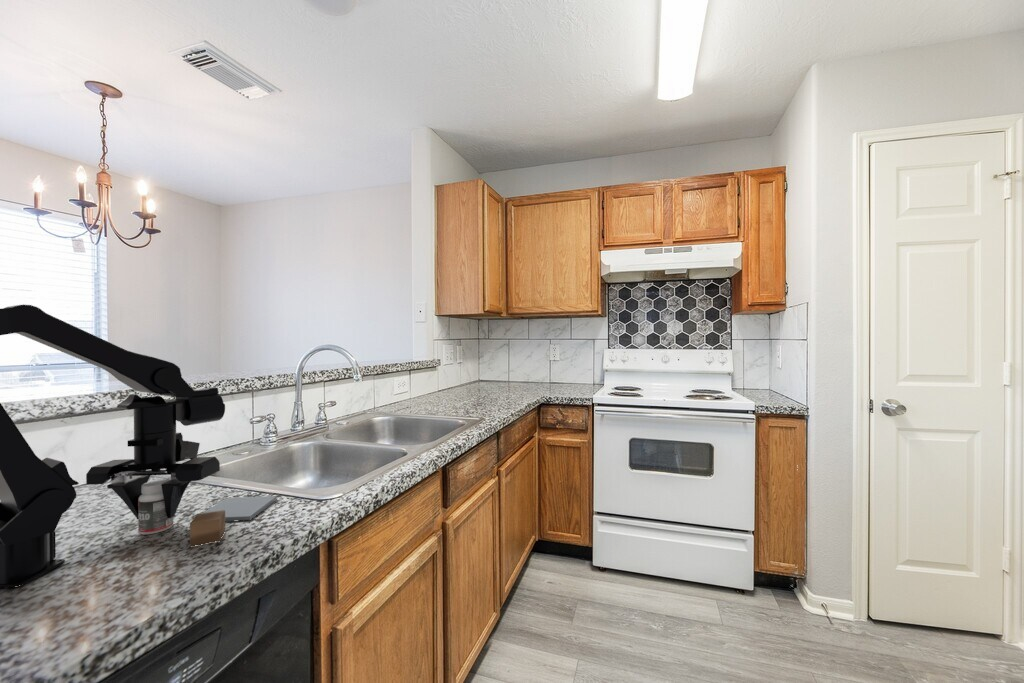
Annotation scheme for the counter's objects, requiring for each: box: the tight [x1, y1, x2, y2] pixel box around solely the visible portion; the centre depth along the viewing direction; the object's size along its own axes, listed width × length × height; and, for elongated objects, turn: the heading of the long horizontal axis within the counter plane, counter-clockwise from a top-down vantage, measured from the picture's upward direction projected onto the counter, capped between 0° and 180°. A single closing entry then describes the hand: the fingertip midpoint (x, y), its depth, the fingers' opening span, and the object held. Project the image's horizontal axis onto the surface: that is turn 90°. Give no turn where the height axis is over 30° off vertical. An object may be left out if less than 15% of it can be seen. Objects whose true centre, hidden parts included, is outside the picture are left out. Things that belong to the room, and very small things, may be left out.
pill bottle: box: [137, 478, 174, 536], centre depth 73 cm, size 5×5×8 cm
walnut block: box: [189, 510, 226, 546], centre depth 69 cm, size 4×4×4 cm
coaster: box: [202, 495, 278, 522], centre depth 81 cm, size 10×10×1 cm
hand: (156, 517), depth 73 cm, fingers closed on pill bottle, 5 cm apart
